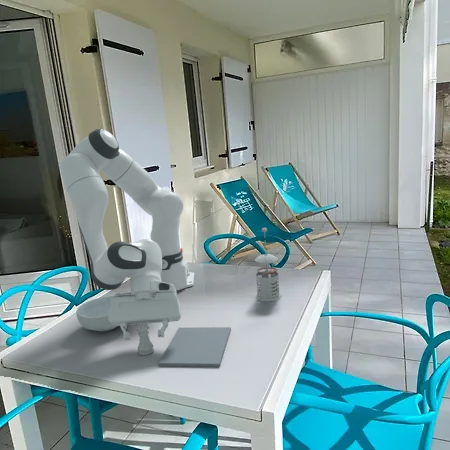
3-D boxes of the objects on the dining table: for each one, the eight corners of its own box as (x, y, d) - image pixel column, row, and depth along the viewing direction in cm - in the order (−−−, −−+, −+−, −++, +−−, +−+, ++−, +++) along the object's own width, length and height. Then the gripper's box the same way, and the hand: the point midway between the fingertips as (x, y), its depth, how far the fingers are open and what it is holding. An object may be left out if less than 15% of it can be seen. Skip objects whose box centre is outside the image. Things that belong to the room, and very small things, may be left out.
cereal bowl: (82, 343, 120) (78, 321, 119) (76, 323, 135) (73, 303, 134) (138, 329, 127) (136, 307, 126) (127, 311, 142) (125, 291, 141)
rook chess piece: (147, 346, 116) (144, 320, 114) (157, 350, 113) (154, 324, 111) (134, 352, 113) (131, 326, 111) (144, 357, 109) (140, 330, 108)
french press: (252, 300, 142) (247, 231, 137) (258, 288, 153) (254, 223, 148) (280, 302, 139) (276, 230, 134) (285, 289, 150) (281, 223, 145)
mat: (179, 329, 124) (179, 327, 124) (230, 329, 121) (230, 327, 121) (158, 365, 105) (158, 362, 105) (219, 366, 102) (219, 363, 102)
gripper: (107, 289, 116) (102, 337, 109) (178, 284, 116) (178, 331, 108) (113, 298, 121) (109, 344, 114) (182, 293, 121) (182, 339, 114)
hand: (143, 338), depth 111 cm, fingers open, 8 cm apart
